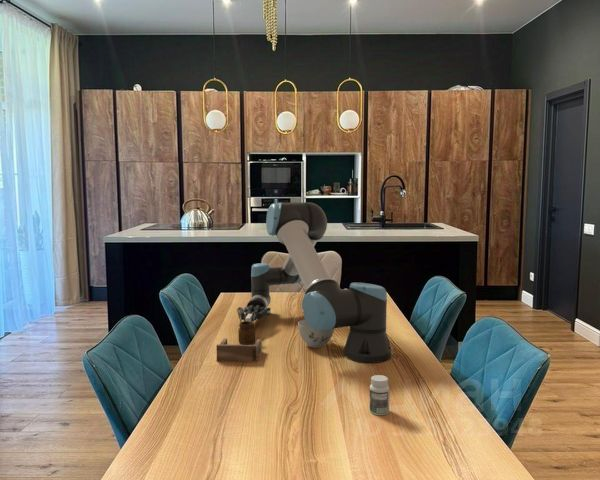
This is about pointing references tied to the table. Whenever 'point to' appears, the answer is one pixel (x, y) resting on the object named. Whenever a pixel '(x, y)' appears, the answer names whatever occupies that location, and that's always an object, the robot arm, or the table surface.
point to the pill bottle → (379, 395)
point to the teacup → (314, 335)
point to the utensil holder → (246, 332)
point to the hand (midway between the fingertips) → (247, 322)
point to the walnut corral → (238, 352)
